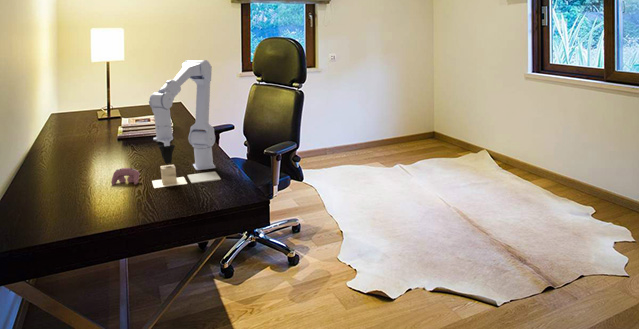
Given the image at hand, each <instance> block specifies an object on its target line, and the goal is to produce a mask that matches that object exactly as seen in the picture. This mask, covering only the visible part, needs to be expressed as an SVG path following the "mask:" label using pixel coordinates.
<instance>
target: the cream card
mask: <svg viewBox="0 0 639 329" xmlns="http://www.w3.org/2000/svg"><path fill="white" fill-rule="evenodd" d="M176 178H177V183H173V184H166V185H163V183H162V179H155V180H151V183H152V186H153V188H154V189H159V188H165V187H173V186H179V185H180V186H181V185H187V184H188V182H187V180H186V178H185V177H184V176H180V177H176Z"/></svg>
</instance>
